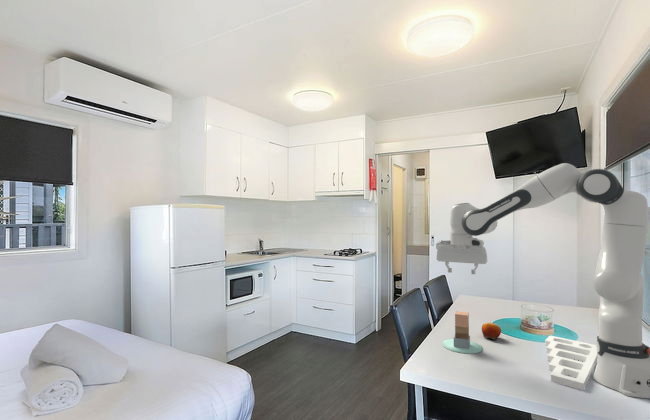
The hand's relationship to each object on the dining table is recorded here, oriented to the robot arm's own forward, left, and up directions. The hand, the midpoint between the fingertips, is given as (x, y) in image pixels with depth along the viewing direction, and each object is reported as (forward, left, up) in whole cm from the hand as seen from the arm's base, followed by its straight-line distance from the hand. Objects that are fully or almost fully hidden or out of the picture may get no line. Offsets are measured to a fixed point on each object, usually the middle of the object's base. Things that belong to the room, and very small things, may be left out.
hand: (461, 273), depth 146 cm
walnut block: (0, 0, -27) cm, 27 cm away
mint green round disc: (0, 0, -31) cm, 31 cm away
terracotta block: (0, 0, -22) cm, 22 cm away
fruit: (-11, -17, -31) cm, 37 cm away
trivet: (-36, -2, -32) cm, 48 cm away
